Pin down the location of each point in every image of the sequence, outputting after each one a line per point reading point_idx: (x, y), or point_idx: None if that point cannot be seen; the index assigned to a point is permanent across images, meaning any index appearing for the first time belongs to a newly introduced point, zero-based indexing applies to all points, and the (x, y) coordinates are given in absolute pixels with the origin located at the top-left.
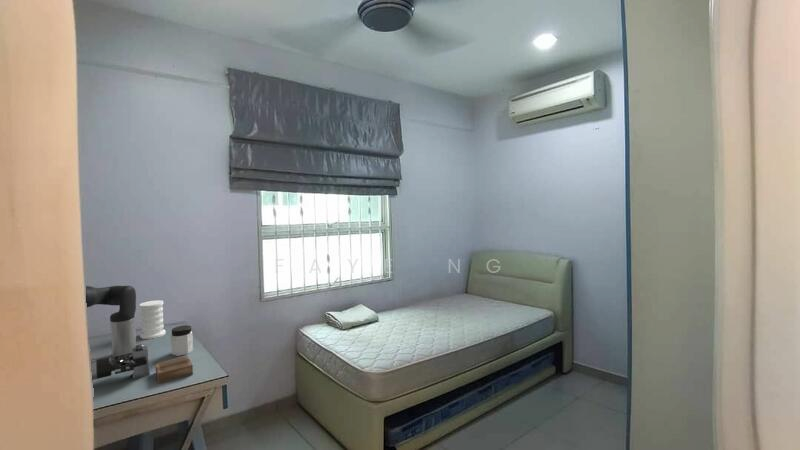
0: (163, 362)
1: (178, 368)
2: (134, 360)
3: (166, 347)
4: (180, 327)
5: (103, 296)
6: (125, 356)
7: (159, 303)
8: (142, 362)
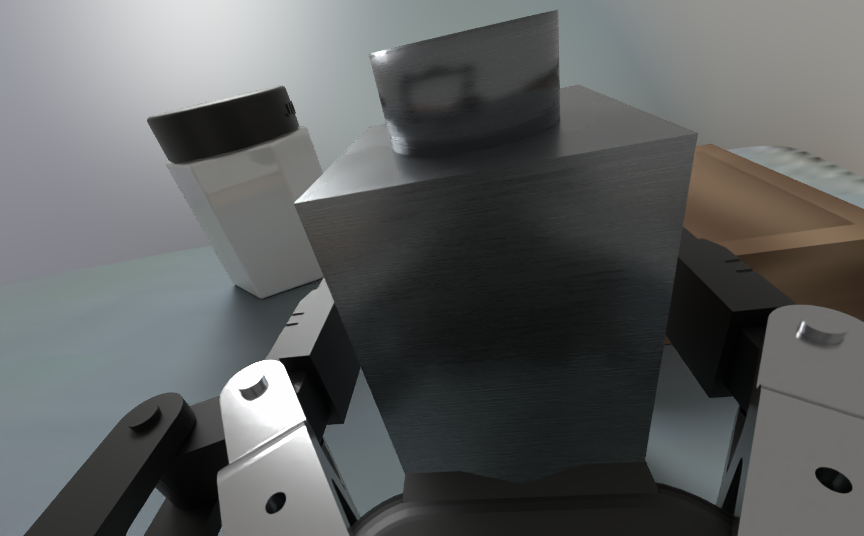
0: None
1: (767, 169)
2: (649, 337)
3: (106, 328)
4: (196, 105)
5: None
6: (294, 497)
7: None
8: (733, 266)
